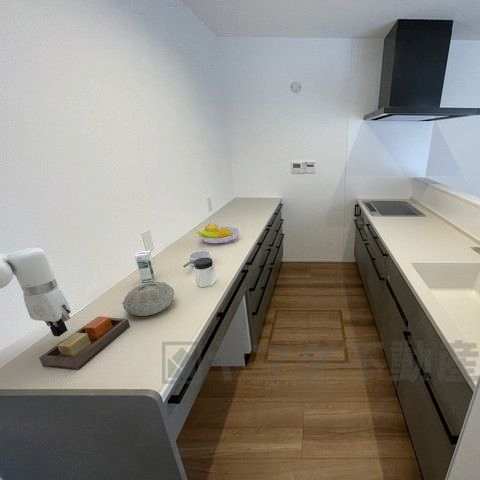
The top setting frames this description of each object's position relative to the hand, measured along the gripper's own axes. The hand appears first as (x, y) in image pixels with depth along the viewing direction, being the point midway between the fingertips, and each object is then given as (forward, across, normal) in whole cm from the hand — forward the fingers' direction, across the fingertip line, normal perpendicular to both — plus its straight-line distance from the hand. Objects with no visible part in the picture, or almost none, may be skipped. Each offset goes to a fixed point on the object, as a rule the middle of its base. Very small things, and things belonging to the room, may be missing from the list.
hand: (60, 333), depth 89 cm
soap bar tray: (+4, +10, 0) cm, 11 cm away
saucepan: (+4, +14, +60) cm, 61 cm away
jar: (+4, +28, +44) cm, 52 cm away
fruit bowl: (+5, +8, +101) cm, 101 cm away
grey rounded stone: (+4, +16, +22) cm, 27 cm away
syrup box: (+4, -2, +44) cm, 44 cm away
